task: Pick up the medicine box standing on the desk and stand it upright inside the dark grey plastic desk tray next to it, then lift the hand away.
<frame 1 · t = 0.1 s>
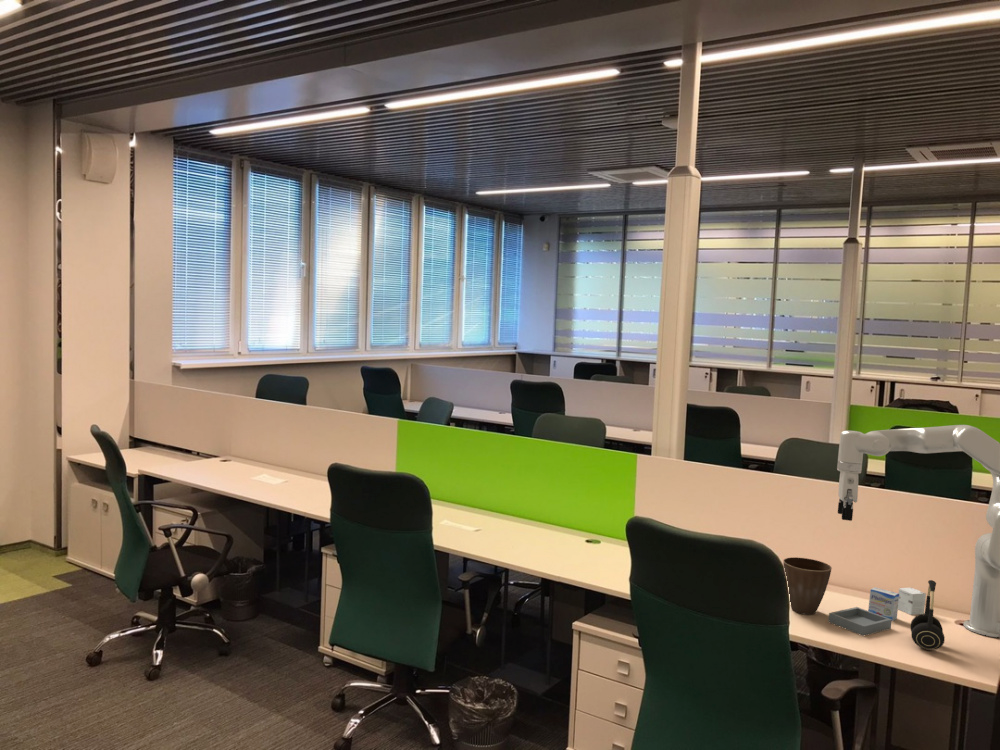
hand: (844, 517, 259), 31 cm above the table, tool pointing down, fingers open, 9 cm apart
plant pot: (802, 611, 254), on the table
skincare box: (910, 612, 261), on the table
medicine box: (882, 617, 254), on the table
headphones: (925, 646, 230), on the table
desk tray: (859, 625, 244), on the table
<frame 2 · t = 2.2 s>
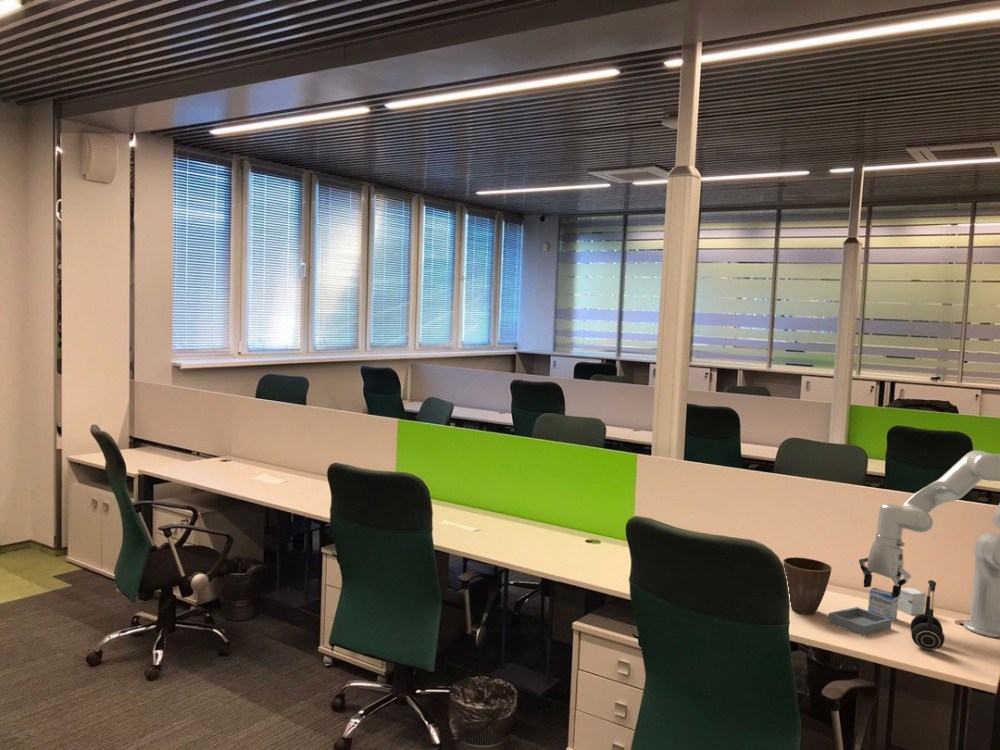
hand: (880, 591, 253), 8 cm above the table, tool pointing down, fingers open, 9 cm apart
medicine box: (881, 617, 254), on the table, touching gripper
everything else where it was.
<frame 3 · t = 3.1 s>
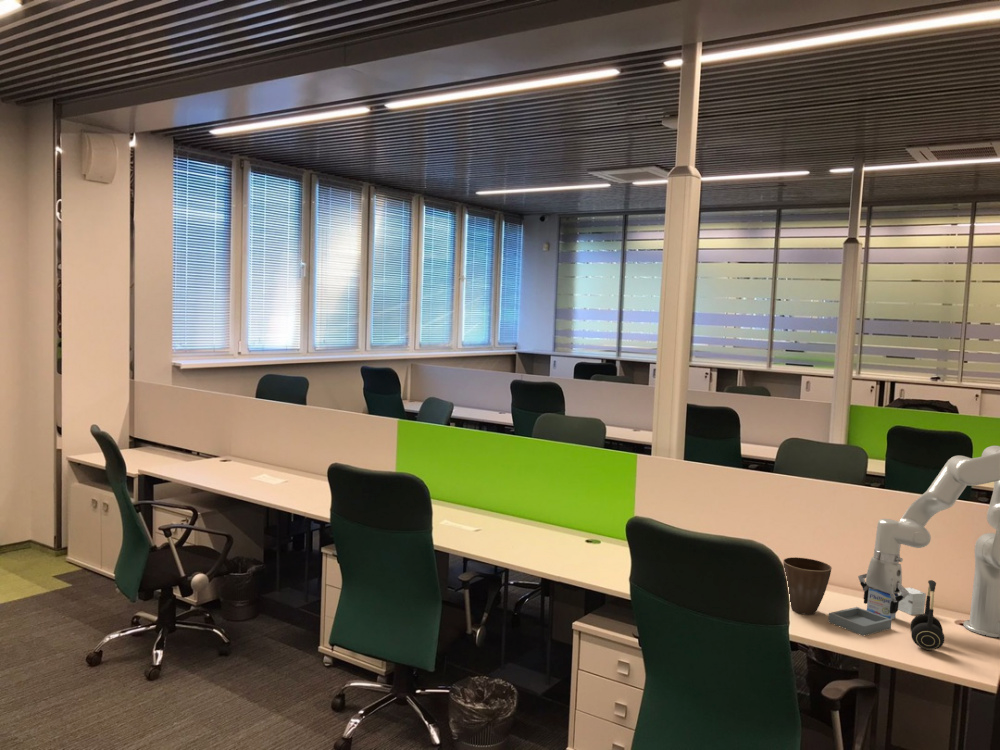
hand: (879, 607, 254), 3 cm above the table, tool pointing down, fingers closed on medicine box, 8 cm apart
medicine box: (880, 616, 255), on the table, touching gripper
everything else where it was.
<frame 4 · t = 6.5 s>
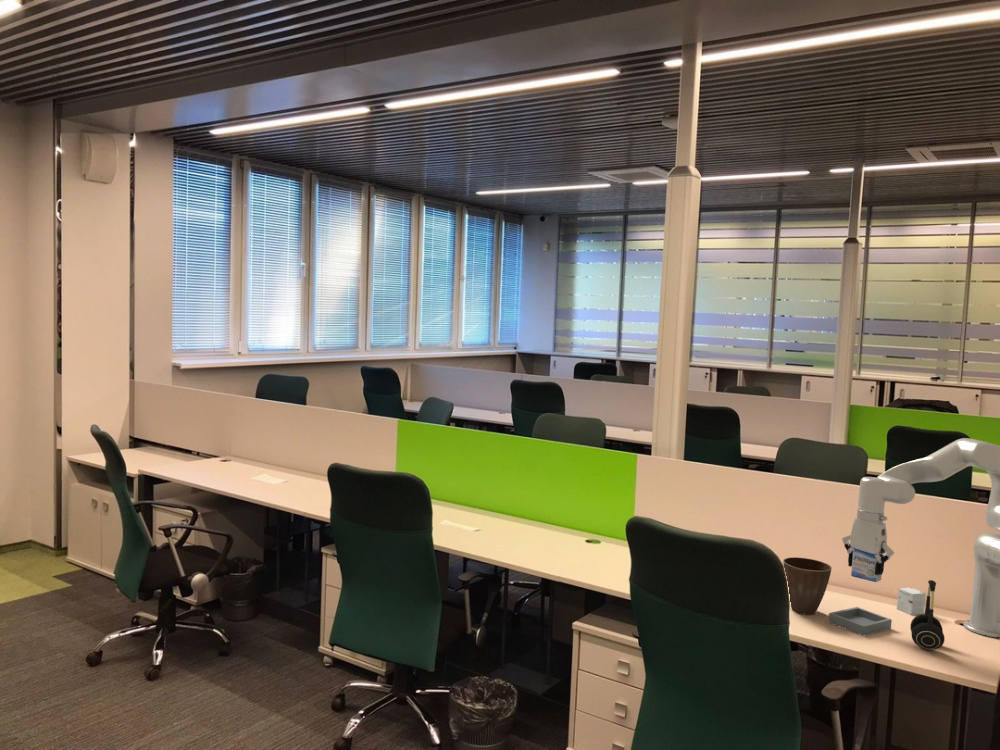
hand: (865, 570, 243), 18 cm above the table, tool pointing down, fingers closed on medicine box, 8 cm apart
medicine box: (866, 578, 243), point 15 cm above the table, touching gripper
everything else where it was.
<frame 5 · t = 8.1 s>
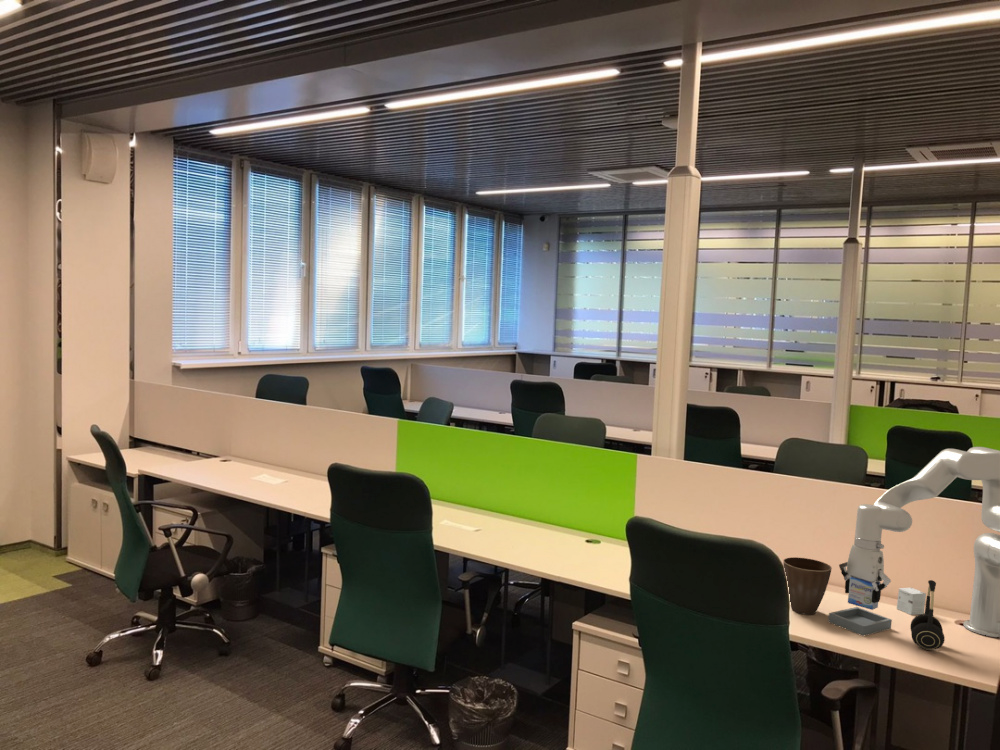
hand: (861, 597, 243), 9 cm above the table, tool pointing down, fingers closed on medicine box, 8 cm apart
medicine box: (862, 605, 244), point 6 cm above the table, touching gripper
everything else where it was.
when the fingers open (4 cm above the table, at t = 9.7 s): medicine box stays where it is, resting on desk tray.
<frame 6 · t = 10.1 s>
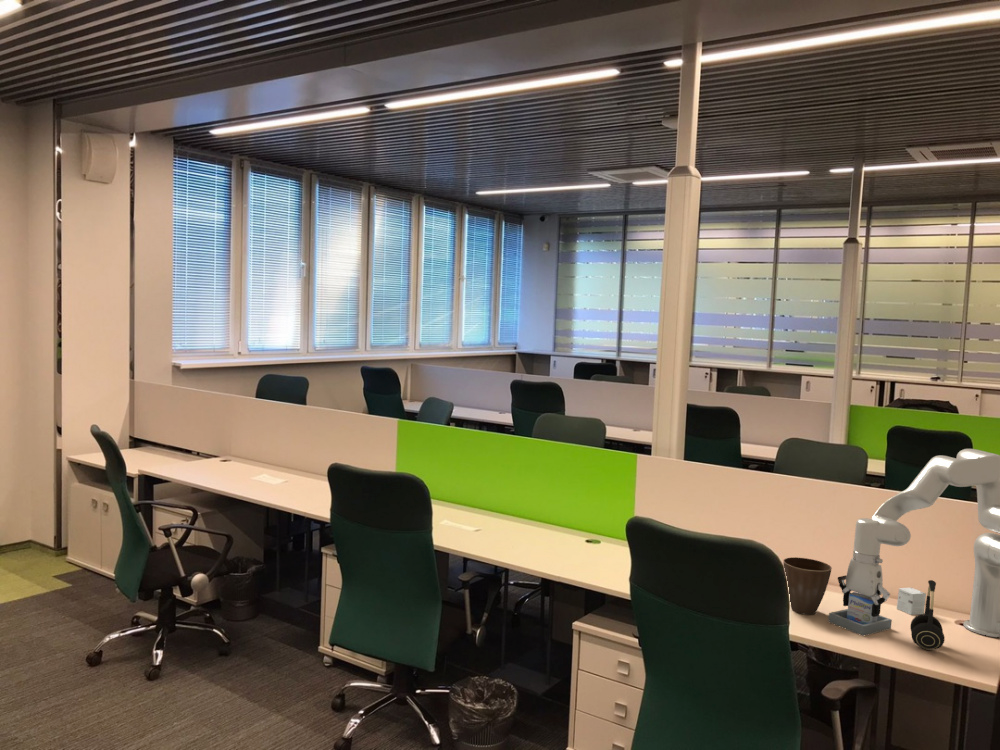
hand: (860, 610, 243), 5 cm above the table, tool pointing down, fingers open, 9 cm apart
medicine box: (861, 623, 244), point 1 cm above the table, touching desk tray
everything else where it was.
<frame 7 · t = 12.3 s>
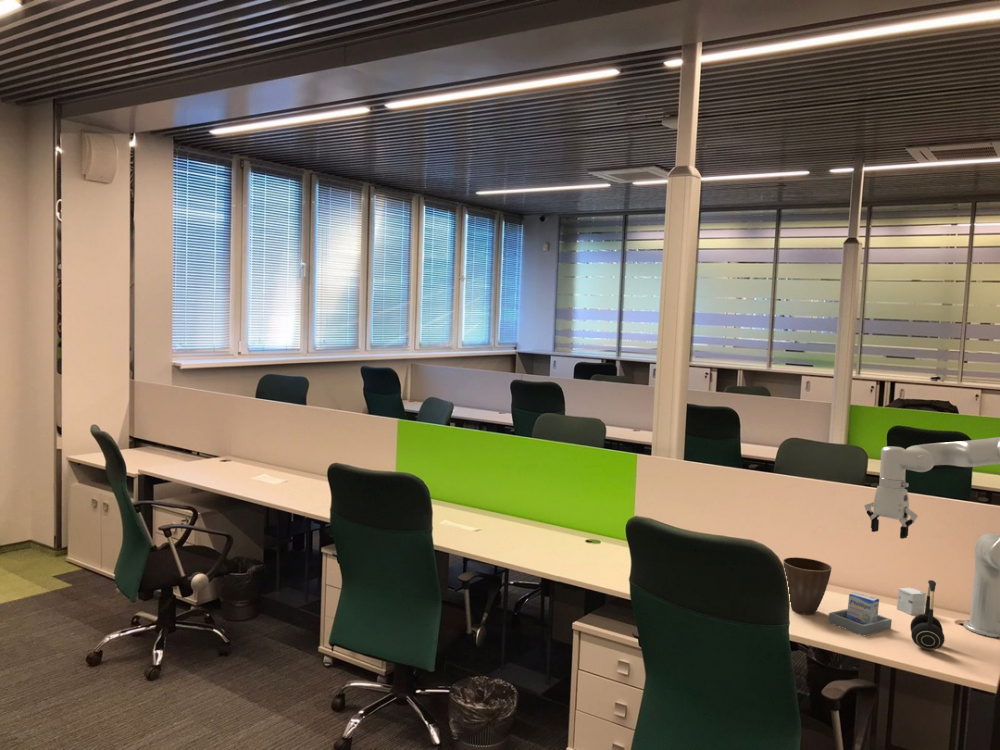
hand: (888, 534, 254), 27 cm above the table, tool pointing down, fingers open, 9 cm apart
nothing on the table moved.
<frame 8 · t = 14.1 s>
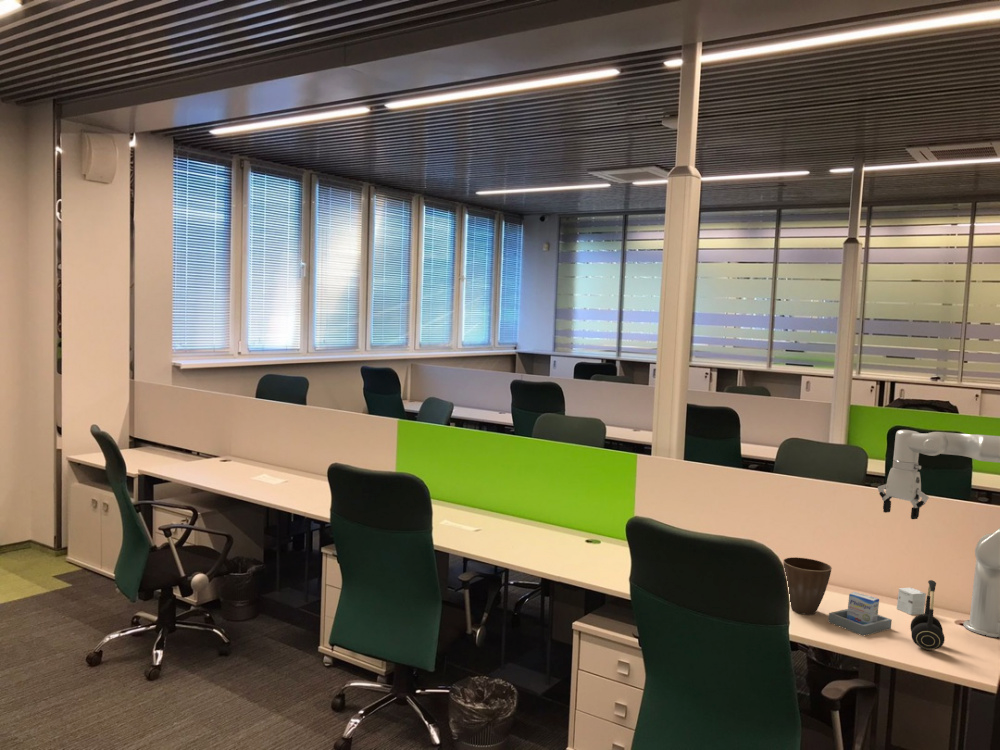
hand: (900, 515, 262), 32 cm above the table, tool pointing down, fingers open, 9 cm apart
nothing on the table moved.
at the end: medicine box inside the target area on the desk tray (1.2 cm from its centre), point 0.6 cm above the desk tray's base; medicine box tilted 0°; the gripper is holding nothing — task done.
